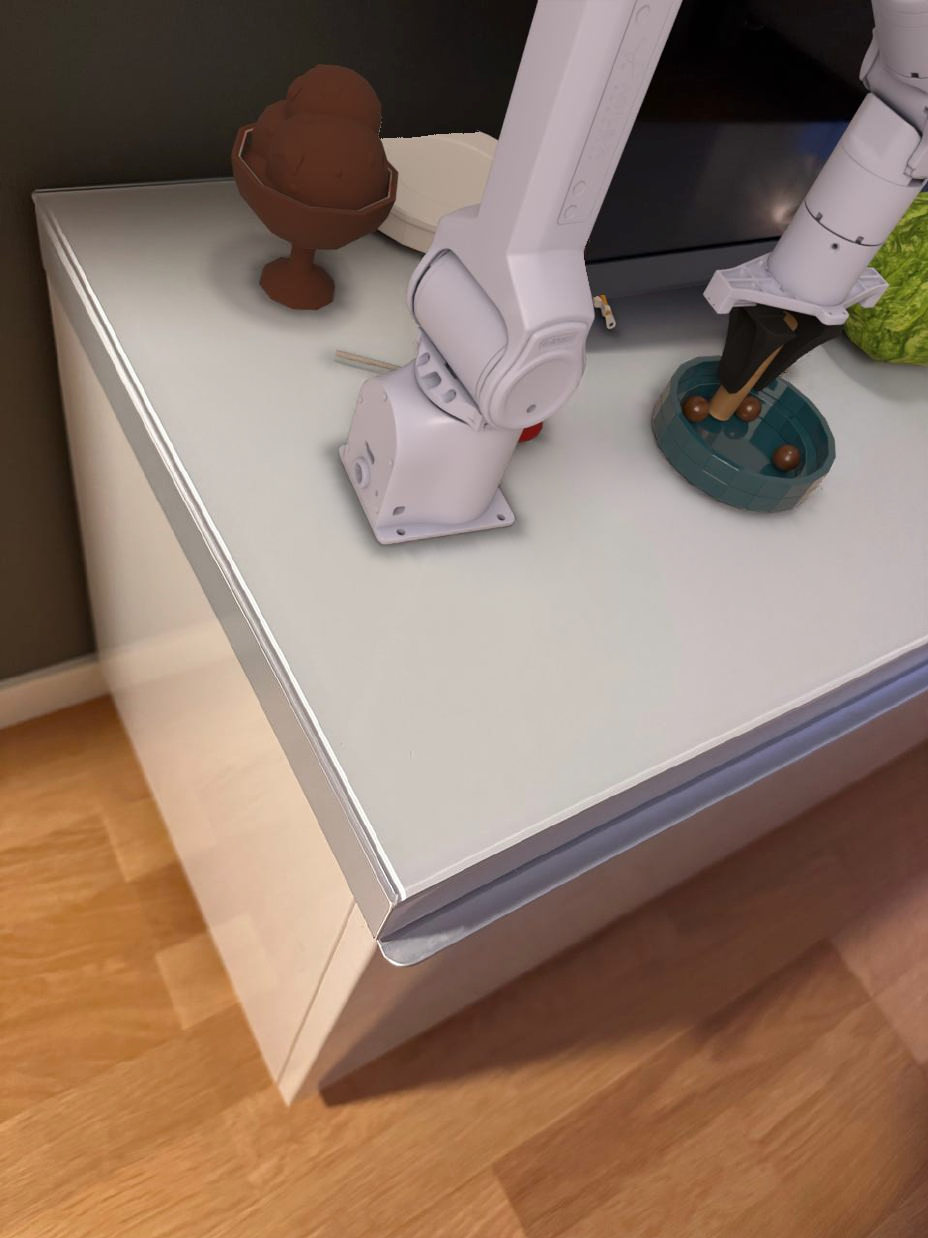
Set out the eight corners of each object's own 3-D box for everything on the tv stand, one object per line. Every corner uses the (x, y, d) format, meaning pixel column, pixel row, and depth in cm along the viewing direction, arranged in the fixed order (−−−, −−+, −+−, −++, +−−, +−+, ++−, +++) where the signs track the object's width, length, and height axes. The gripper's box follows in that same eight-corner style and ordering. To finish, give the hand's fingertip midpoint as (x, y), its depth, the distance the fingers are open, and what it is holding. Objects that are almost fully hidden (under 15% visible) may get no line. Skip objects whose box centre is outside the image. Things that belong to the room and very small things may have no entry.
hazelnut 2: (731, 398, 73) (750, 385, 73) (727, 416, 75) (745, 403, 75) (750, 413, 72) (769, 399, 73) (746, 431, 74) (765, 417, 74)
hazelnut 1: (690, 421, 71) (683, 395, 71) (683, 428, 73) (675, 403, 73) (716, 414, 71) (708, 389, 71) (707, 421, 73) (700, 396, 73)
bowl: (707, 528, 66) (732, 494, 64) (619, 396, 72) (639, 360, 70) (841, 504, 72) (869, 473, 70) (749, 384, 78) (772, 351, 76)
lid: (594, 224, 86) (606, 193, 83) (450, 290, 74) (460, 256, 71) (453, 126, 90) (461, 93, 87) (297, 173, 78) (301, 137, 76)
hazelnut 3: (770, 441, 72) (796, 441, 72) (766, 466, 73) (792, 466, 73) (780, 448, 70) (806, 448, 70) (775, 474, 71) (802, 474, 71)
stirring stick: (715, 422, 72) (781, 329, 65) (702, 402, 73) (766, 309, 66) (735, 419, 73) (802, 328, 66) (722, 400, 74) (787, 308, 67)
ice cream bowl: (207, 235, 70) (224, 18, 58) (354, 245, 74) (396, 45, 63) (232, 331, 65) (255, 114, 53) (388, 336, 69) (441, 136, 57)
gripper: (796, 259, 55) (688, 429, 66) (960, 257, 61) (838, 413, 72) (733, 186, 58) (640, 360, 69) (895, 192, 65) (787, 350, 75)
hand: (738, 383), depth 71 cm, fingers closed on stirring stick, 2 cm apart
